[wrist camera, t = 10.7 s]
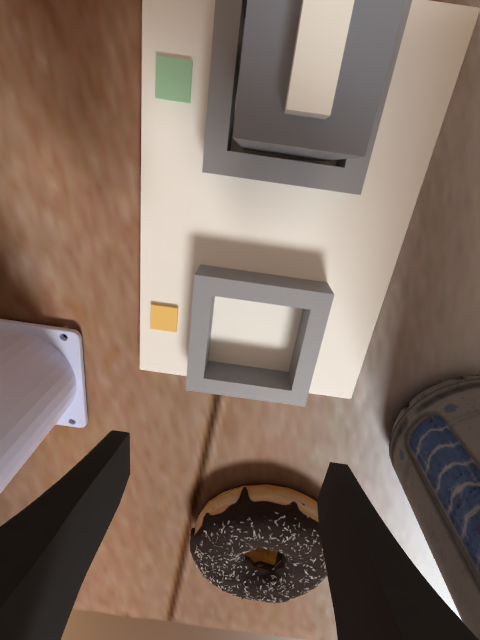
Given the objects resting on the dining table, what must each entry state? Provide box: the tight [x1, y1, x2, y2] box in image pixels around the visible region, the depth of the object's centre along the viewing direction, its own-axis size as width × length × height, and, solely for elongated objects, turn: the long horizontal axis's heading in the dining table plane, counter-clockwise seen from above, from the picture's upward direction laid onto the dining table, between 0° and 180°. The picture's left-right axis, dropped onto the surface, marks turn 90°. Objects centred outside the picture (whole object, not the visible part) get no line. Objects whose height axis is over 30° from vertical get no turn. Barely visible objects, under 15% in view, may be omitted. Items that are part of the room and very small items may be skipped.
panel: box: [140, 0, 480, 407], centre depth 17 cm, size 14×20×3 cm
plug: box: [233, 0, 405, 161], centre depth 12 cm, size 4×4×8 cm
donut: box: [190, 484, 327, 603], centre depth 27 cm, size 11×12×4 cm
